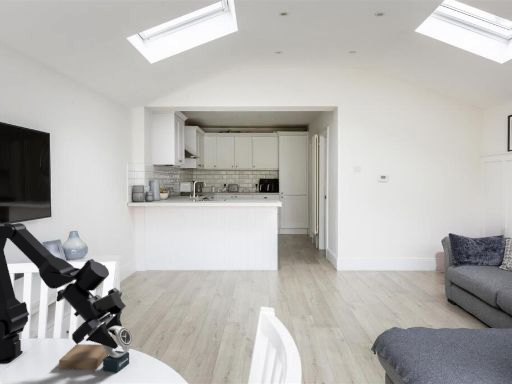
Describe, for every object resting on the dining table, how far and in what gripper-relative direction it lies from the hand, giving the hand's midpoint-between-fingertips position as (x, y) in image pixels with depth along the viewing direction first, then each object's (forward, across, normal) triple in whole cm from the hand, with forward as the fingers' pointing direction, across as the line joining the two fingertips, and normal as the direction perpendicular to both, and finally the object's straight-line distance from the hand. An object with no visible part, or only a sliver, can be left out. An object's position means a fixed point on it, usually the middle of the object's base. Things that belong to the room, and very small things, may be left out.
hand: (121, 343), depth 107 cm
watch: (+4, 0, +6) cm, 7 cm away
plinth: (-4, +2, +13) cm, 14 cm away
